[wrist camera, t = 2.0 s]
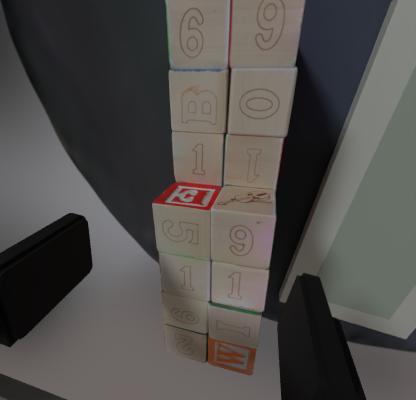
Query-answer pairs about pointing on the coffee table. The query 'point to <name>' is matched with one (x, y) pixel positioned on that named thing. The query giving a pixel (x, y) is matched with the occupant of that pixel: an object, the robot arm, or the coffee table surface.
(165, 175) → the coffee table surface
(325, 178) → the baseplate
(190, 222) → the stack of blocks
